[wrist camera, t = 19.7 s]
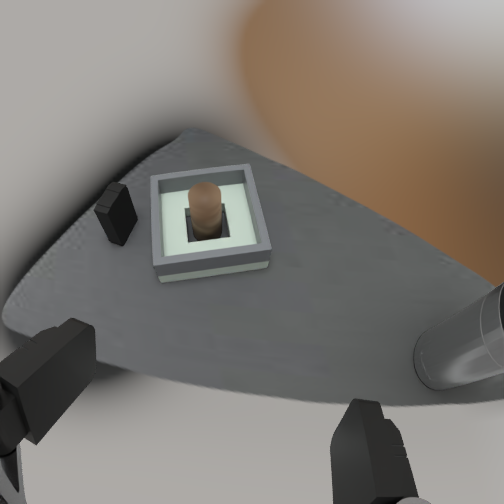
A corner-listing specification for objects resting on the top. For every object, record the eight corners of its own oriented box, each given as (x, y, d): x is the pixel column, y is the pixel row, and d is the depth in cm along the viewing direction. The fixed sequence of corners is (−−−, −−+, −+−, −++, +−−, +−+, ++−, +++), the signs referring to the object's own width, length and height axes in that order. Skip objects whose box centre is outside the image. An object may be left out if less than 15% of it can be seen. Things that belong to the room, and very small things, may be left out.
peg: (219, 217, 46) (218, 180, 39) (223, 241, 44) (223, 205, 37) (191, 220, 46) (186, 184, 39) (194, 245, 44) (189, 210, 37)
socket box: (247, 186, 49) (249, 163, 45) (267, 267, 43) (271, 249, 38) (156, 197, 47) (150, 176, 43) (161, 283, 41) (153, 265, 36)
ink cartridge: (125, 215, 45) (111, 179, 39) (138, 219, 45) (126, 182, 38) (109, 242, 43) (92, 208, 36) (122, 247, 43) (106, 212, 36)
